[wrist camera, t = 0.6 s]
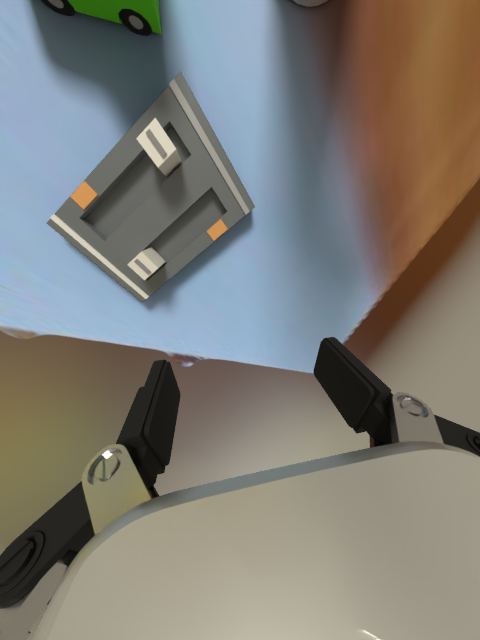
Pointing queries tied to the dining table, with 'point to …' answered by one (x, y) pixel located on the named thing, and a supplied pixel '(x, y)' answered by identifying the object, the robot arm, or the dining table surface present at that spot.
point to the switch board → (155, 197)
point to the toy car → (115, 12)
